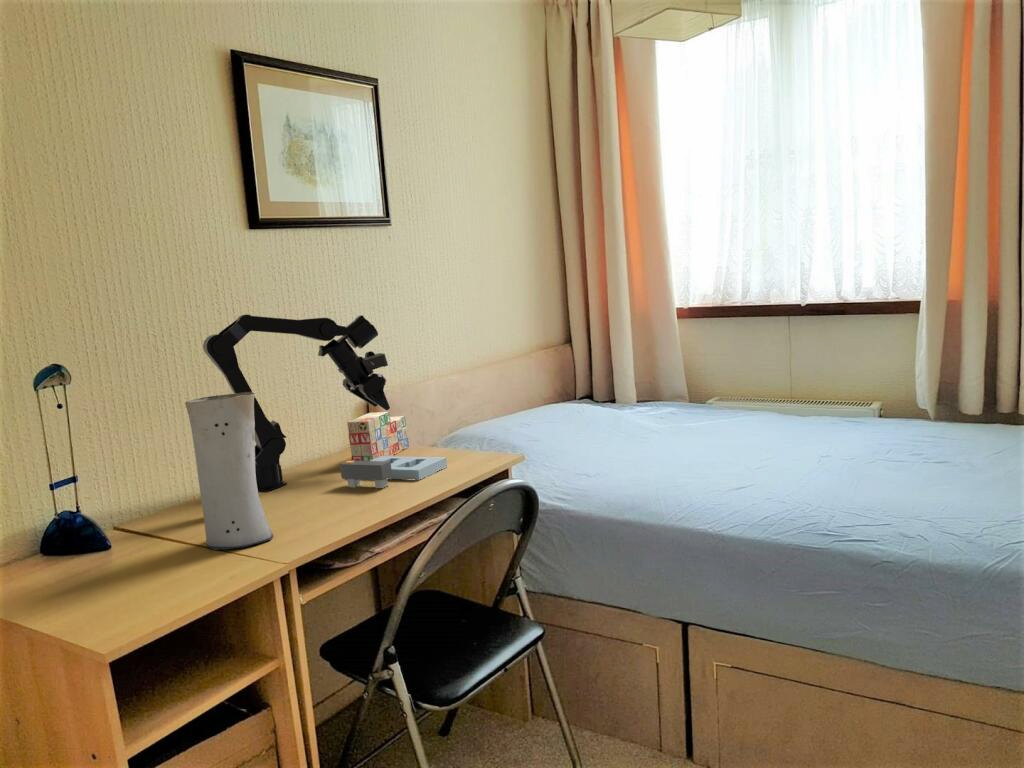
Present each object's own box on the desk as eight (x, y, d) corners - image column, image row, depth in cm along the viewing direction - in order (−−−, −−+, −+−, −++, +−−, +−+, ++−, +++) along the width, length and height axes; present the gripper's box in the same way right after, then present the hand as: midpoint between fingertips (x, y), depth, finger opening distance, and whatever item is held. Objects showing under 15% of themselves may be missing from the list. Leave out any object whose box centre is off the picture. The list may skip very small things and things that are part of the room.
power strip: (393, 485, 179) (390, 460, 178) (384, 489, 176) (380, 464, 175) (352, 483, 185) (349, 459, 184) (343, 487, 182) (339, 463, 181)
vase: (291, 534, 150) (274, 390, 148) (231, 556, 139) (211, 401, 136) (248, 528, 158) (231, 391, 155) (188, 549, 146) (168, 402, 144)
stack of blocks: (390, 448, 224) (384, 406, 222) (409, 447, 222) (404, 405, 220) (352, 467, 203) (346, 421, 202) (373, 466, 201) (367, 420, 200)
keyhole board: (447, 467, 192) (446, 457, 191) (419, 480, 181) (418, 470, 181) (382, 465, 201) (381, 456, 201) (352, 477, 191) (351, 467, 190)
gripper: (383, 341, 191) (419, 391, 196) (360, 339, 207) (393, 385, 213) (347, 369, 187) (385, 419, 193) (327, 365, 204) (362, 411, 209)
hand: (382, 407), depth 202 cm, fingers open, 9 cm apart
